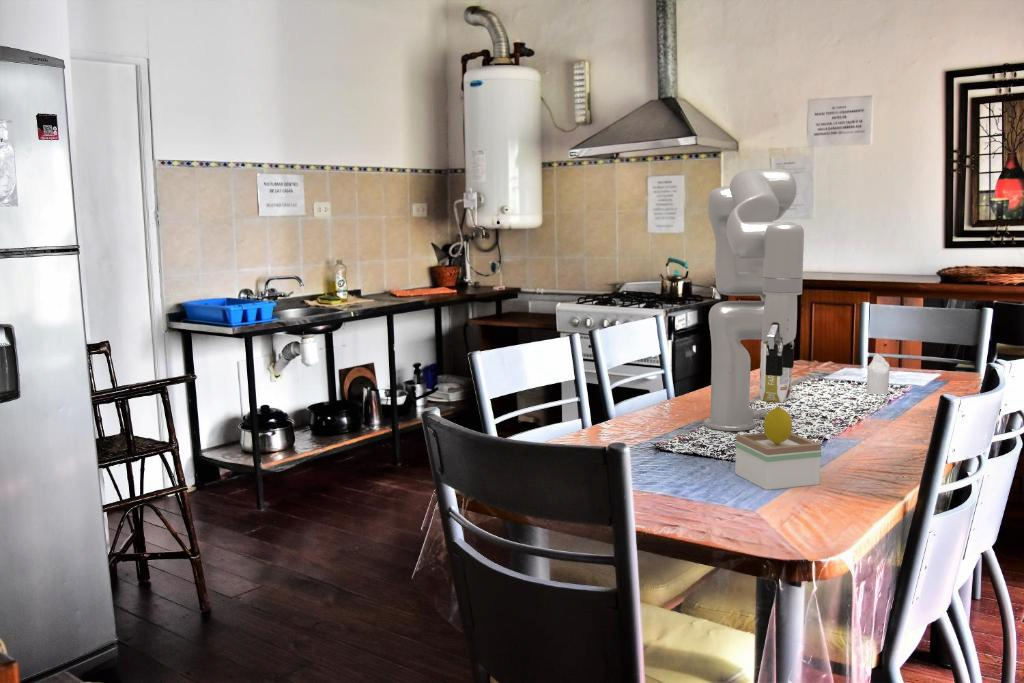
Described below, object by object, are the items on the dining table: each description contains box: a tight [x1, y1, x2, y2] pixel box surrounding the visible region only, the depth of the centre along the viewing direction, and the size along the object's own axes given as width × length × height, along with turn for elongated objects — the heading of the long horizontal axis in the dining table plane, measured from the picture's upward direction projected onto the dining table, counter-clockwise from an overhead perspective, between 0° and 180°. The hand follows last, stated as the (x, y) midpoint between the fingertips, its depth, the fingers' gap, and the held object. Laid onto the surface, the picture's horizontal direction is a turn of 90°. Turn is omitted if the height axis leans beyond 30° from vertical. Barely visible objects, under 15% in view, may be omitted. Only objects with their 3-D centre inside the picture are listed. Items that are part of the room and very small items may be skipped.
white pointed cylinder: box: [866, 353, 890, 395], centre depth 273 cm, size 6×12×6 cm
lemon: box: [763, 406, 793, 445], centre depth 190 cm, size 6×6×8 cm
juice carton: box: [759, 341, 793, 404], centre depth 266 cm, size 8×9×19 cm
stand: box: [734, 432, 822, 491], centre depth 191 cm, size 12×12×8 cm
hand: (779, 371), depth 189 cm, fingers open, 9 cm apart
